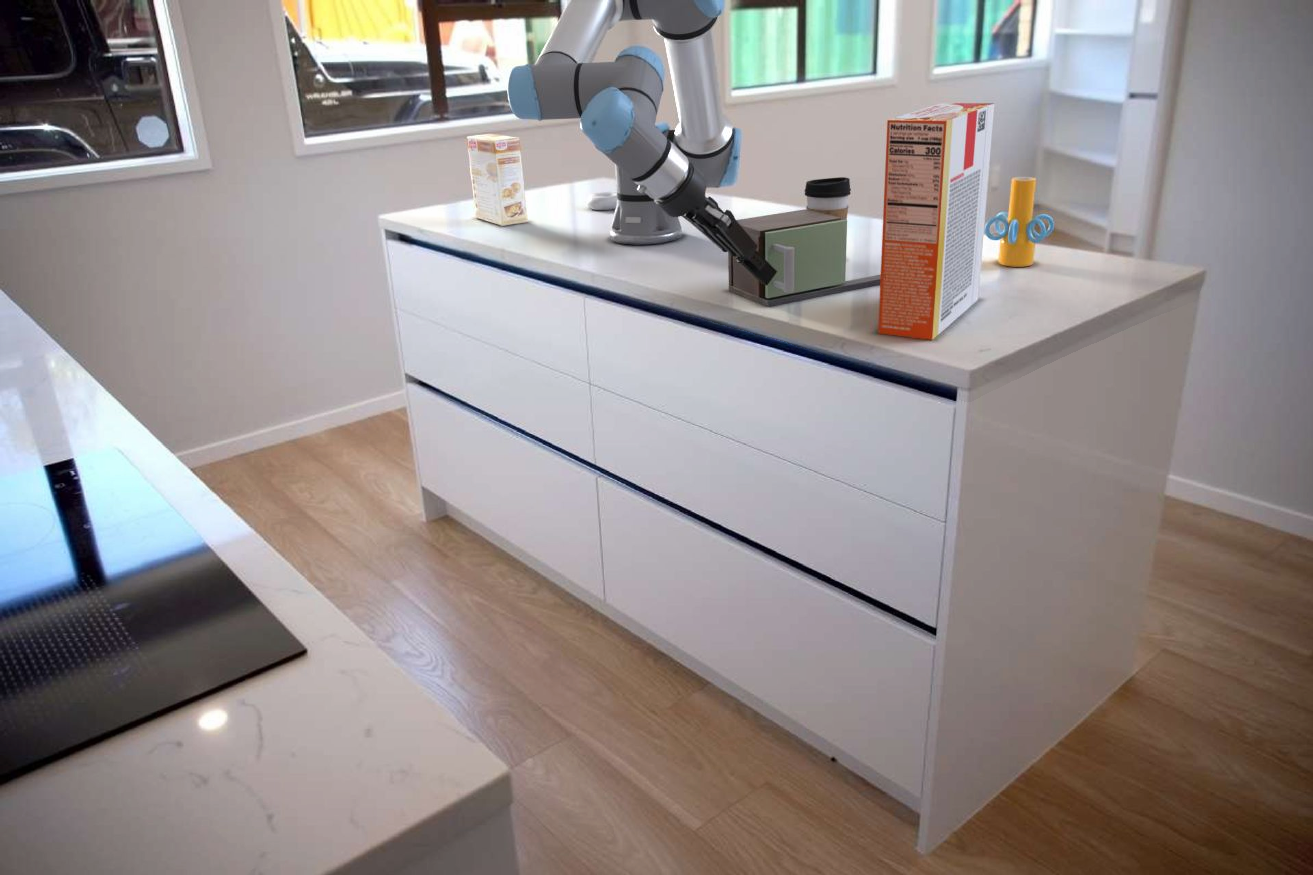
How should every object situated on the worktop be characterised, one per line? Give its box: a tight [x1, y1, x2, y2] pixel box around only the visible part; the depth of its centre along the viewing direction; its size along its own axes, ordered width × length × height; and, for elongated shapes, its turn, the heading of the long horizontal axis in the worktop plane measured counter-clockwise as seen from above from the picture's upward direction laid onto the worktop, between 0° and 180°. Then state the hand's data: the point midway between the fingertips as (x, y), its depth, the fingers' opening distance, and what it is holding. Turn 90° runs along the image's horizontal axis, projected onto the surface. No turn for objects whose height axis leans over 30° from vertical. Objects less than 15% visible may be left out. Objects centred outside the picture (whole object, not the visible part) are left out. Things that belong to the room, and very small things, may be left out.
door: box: [765, 219, 848, 298], centre depth 161 cm, size 6×16×11 cm, turn 118°
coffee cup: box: [804, 176, 852, 221], centre depth 186 cm, size 8×8×15 cm
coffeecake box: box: [466, 133, 529, 227], centre depth 237 cm, size 15×7×20 cm, turn 34°
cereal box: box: [877, 102, 995, 341], centre depth 147 cm, size 23×8×30 cm, turn 148°
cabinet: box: [727, 208, 881, 308], centre depth 170 cm, size 12×27×12 cm, turn 118°
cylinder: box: [984, 176, 1055, 268], centre depth 177 cm, size 12×10×15 cm
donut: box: [586, 191, 617, 211], centre depth 249 cm, size 10×3×10 cm
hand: (769, 277), depth 155 cm, fingers closed
